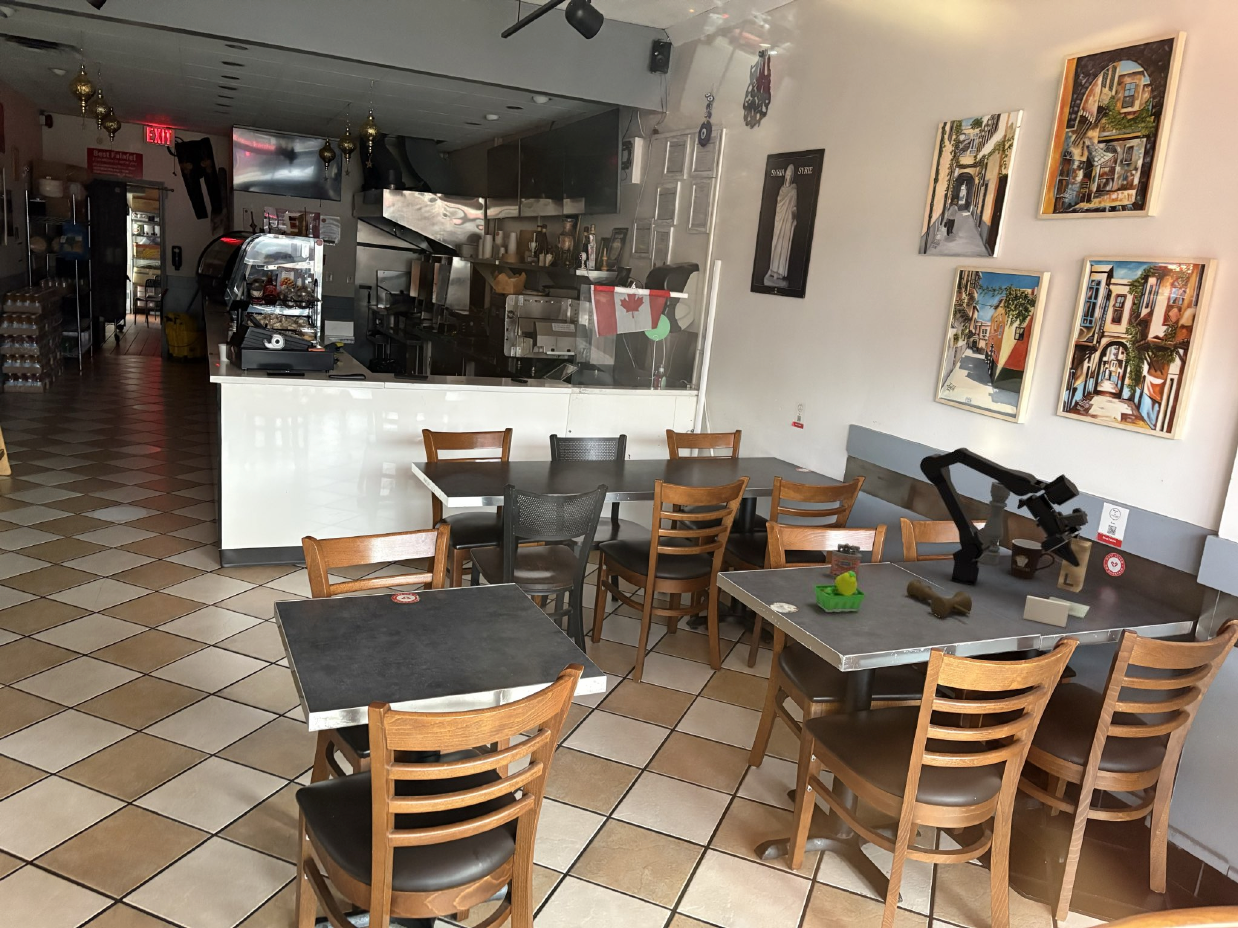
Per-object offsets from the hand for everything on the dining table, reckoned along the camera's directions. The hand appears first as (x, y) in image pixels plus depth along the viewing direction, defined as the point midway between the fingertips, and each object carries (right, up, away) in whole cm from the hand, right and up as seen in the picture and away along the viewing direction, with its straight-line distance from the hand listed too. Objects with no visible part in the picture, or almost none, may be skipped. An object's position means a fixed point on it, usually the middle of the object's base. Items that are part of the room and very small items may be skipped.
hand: (1080, 564), depth 239 cm
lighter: (-60, -6, +14) cm, 62 cm away
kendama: (-39, -12, -3) cm, 41 cm away
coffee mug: (-2, -7, +28) cm, 29 cm away
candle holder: (-8, -4, +40) cm, 41 cm away
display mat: (-1, -13, +5) cm, 14 cm away
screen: (-13, -14, -6) cm, 20 cm away
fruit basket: (-67, -11, -9) cm, 68 cm away
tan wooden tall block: (-2, -7, +3) cm, 7 cm away
